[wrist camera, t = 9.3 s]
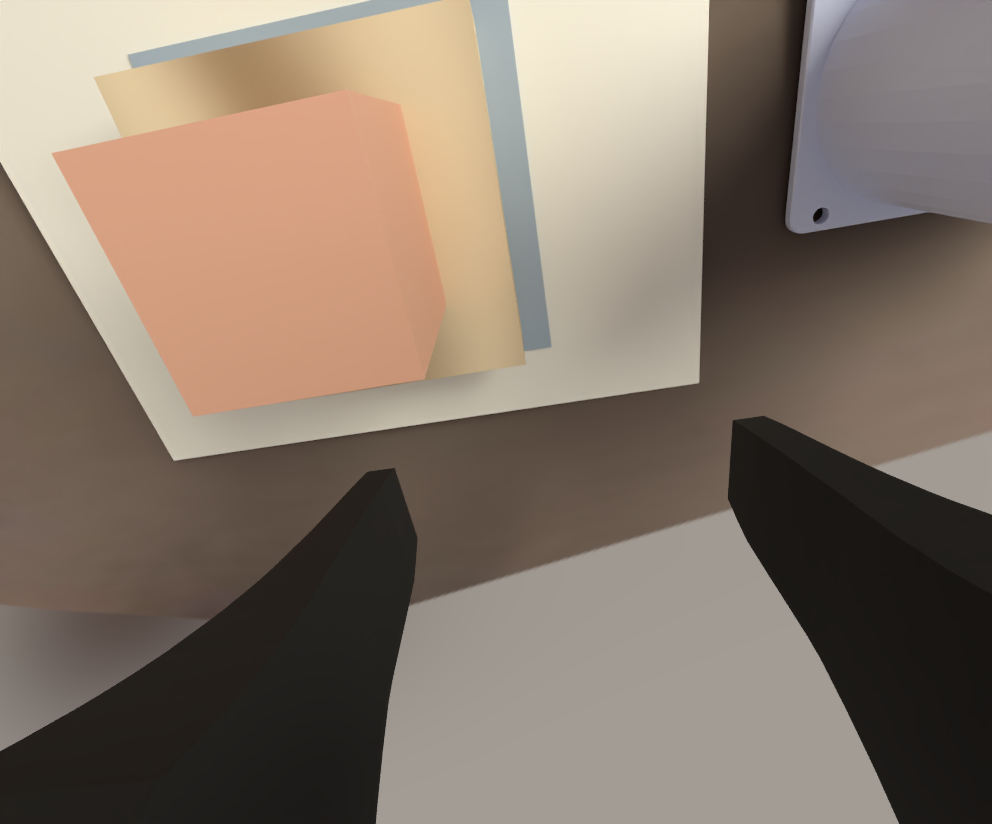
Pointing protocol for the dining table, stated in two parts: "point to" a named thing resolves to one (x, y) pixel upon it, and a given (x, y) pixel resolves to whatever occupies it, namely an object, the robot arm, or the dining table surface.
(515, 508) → the dining table surface
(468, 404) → the board
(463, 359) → the oak base brick
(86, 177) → the terracotta cube
